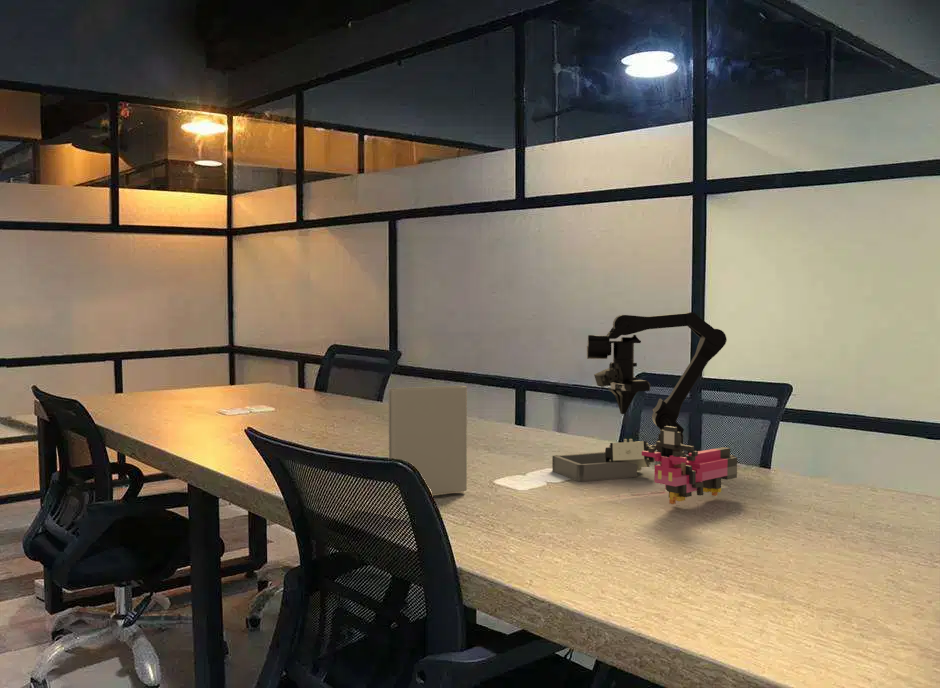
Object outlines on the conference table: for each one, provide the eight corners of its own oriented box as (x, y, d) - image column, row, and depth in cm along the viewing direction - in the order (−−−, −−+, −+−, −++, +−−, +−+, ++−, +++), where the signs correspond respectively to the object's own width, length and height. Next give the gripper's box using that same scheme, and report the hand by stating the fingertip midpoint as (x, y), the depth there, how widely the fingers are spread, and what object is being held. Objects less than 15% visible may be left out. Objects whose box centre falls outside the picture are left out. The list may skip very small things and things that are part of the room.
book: (394, 498, 185) (394, 390, 184) (388, 495, 189) (388, 388, 188) (469, 491, 193) (469, 386, 192) (462, 487, 197) (462, 385, 196)
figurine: (641, 502, 182) (641, 425, 182) (710, 486, 198) (711, 416, 197) (683, 511, 174) (684, 431, 173) (752, 494, 189) (753, 421, 189)
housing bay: (607, 466, 223) (607, 451, 223) (637, 476, 209) (637, 461, 209) (552, 471, 217) (552, 455, 217) (579, 481, 204) (579, 465, 203)
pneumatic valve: (657, 472, 214) (652, 457, 204) (611, 474, 218) (604, 459, 208) (656, 451, 217) (651, 435, 207) (611, 454, 220) (603, 438, 210)
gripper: (582, 357, 244) (581, 411, 244) (616, 361, 226) (616, 419, 227) (615, 357, 248) (615, 409, 248) (651, 360, 230) (651, 417, 231)
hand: (623, 414), depth 239 cm, fingers closed
